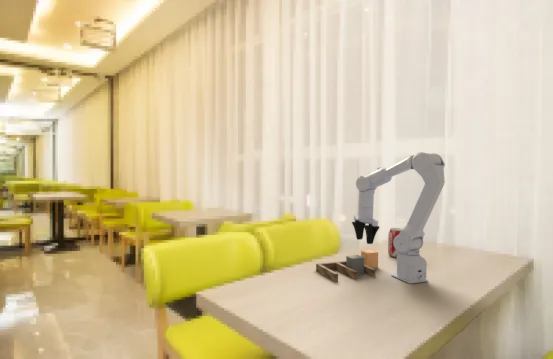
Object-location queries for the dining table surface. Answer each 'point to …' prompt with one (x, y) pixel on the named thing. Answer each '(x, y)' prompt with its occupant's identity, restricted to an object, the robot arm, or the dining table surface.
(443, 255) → the dining table surface
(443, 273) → the dining table surface
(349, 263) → the charcoal plug
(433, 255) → the dining table surface
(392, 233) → the soda can
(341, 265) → the cable comb
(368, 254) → the orange block
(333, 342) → the dining table surface
